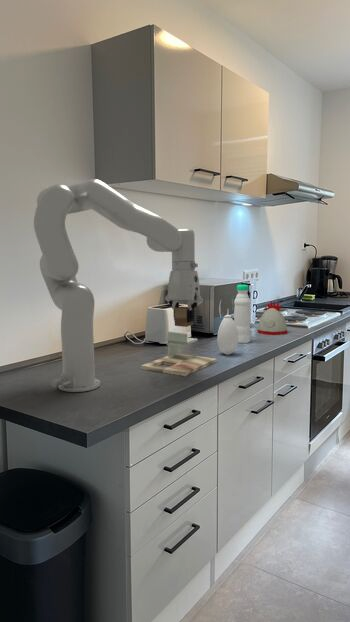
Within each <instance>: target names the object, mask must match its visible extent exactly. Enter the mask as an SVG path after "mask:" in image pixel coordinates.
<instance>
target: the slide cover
mask: <svg viewBox="0 0 350 622" xmlns="http://www.w3.org/2000/svg"><path fill="white" fill-rule="evenodd" d="M198 339H199V338H196V337H195V338H193V337H188V333H187V332H186V333H185V332H176V331H167V356H168V357H171V356H174V355H176V354H182V347H188V345H190V344H193V343H196V342H199V341H198Z"/></svg>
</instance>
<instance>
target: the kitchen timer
mask: <svg viewBox="0 0 350 622" xmlns="http://www.w3.org/2000/svg"><path fill="white" fill-rule="evenodd" d="M264 308H265V311H264V313H262V315H261V316H260V319H259V322H258V326H257V333H258V334H260V335H264V336H265V335H266V336H267V335H268V336H282V335H286V334H288V325H287V322H286V319H285V317H284V314H282V312H281V311H280V310H281V308H282V304H280V303H279V301H278V302H277V303H276V302H275V301H270V303H267V305H264Z"/></svg>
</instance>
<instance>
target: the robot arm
mask: <svg viewBox="0 0 350 622" xmlns="http://www.w3.org/2000/svg"><path fill="white" fill-rule="evenodd" d="M36 204H37V206H36V209H35V210H34V211H35V212H34V217H33V228H34V232H35V233H34V234H35V237H36V239H37V242H38V245H39V248H40V251H41V254H42V255H41V257H40V259H39V268H40V272H41V275H42V278H43V280H44V283H45V285H46V287H47V290H48V293H49V296H50V297H51V299H52V300H51V301H52V303H54V305H55V306H56V308H58V309H59V310H61V318H60V337H61V355H62V356H61V358H62V359H61V360H62V361H61V362H62V373H60V376H59V378H58V379H54V380H52V381H51V382H50V384H51V387H52V388H57V387H58V389H59V390H61V391H64V392H69V393H79V392H82V393H83V392H88V391H92V390H96V389H98V388H99V387H100V385H101V380H100V379H98V378H97V377H96V374H95V372H96V371H95V347H94V345H95V343H94V339H95V338H94V313H95V296H94V294H93V292H92V291H91V289H90V288H89V286H86V285H85V284H83V283H79V282H78V280H77V278H76V275H77V274H78V273H79V269H80V268H79V261H78V259H77V256H76V253H75V252H74V249H73V247H72V243H71V241H70V238H69V235H68V231H67V227H66V218H67V215H70V214H71V215H72V214H75V213H76V214H77V213H81V212H85V211H89V210H93V211H94V212H95V213H97V214H99V215H101V217H104V218H105V219H106V220H108V221H110V222H111V223H113V224H114V225H115V226H116V227H118V228H121V229H123V230H125V231H129V232H132V233H133V232H134V233H137V234H140V235H141V236H144V237H146V244H147V246H148V247H149V249H150V250H152V251H154V252H156V253H157V252H160V253H164V252H165V253H168V252H169V253H171V270H170V272H169V273H170V274H169V277H168V289H167V290H168V292H167V294H166V295H165V298H164V300H165V301H166V302H168V303H169V304H168V305H170V306H171V309H172V310H173V321H174V322H175V308H177V307H180V304H181V302H186V305H187V307H188V309H189V310H187V322H192V321H193V322H194V320H195V310H196V309H197V307H198V306H200V304H201V303H203V302H204V299H203V297H202V296H201V290H200V279H199V274H198V270H196V268H198V266H199V264H198V263H196V260H195V259H196V258H195V257H196V256H195V255H196V254H195V252H196V251H195V250H196V249H195V243H196V242H195V231H194V229H191V228H176V226H174V225H173V224H172V223H170V222H169V221H167V220H165V219H164V218H163V217H161V216H159V215H158V214H155V213H153V212H151V211H150V210H148V209H145V208H143V207H142V206H139V205H137V204H136V203H134V202H132V201H131V200H130V199H128V198H127V197H125V196H124V195H122V194H121V193H119V192H118V191H117V190H115V189H114V188H113V187H111V186H110V185H108V184H107V183H106V182H104V181H102V180H100V179H98V178H92V179H88V180H85V181H83V182H79V183H76V184H75V183H74V184H69V185H66V184H65V185H64V184H61V183H58V184H53V185H50V186H48V187H46V188H43V190H41V191H40V192H39V194H38V195H37V198H36Z"/></svg>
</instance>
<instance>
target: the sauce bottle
mask: <svg viewBox="0 0 350 622" xmlns="http://www.w3.org/2000/svg"><path fill="white" fill-rule="evenodd" d="M216 338H217V345H218V348H219V350H220V352H221V353H222V354H225V355H226V356H227V355H228V356H229V355H231V354H233V352H235V351H236V350H237V347H238V344H239V343H238V331H237V327H236V325H235V322H234V318H232V315H231V314H230V313H229V309H227V314H226V315H224V317H223V319H222V320H221V322H220V325H219V327H218V331H217V337H216Z"/></svg>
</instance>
